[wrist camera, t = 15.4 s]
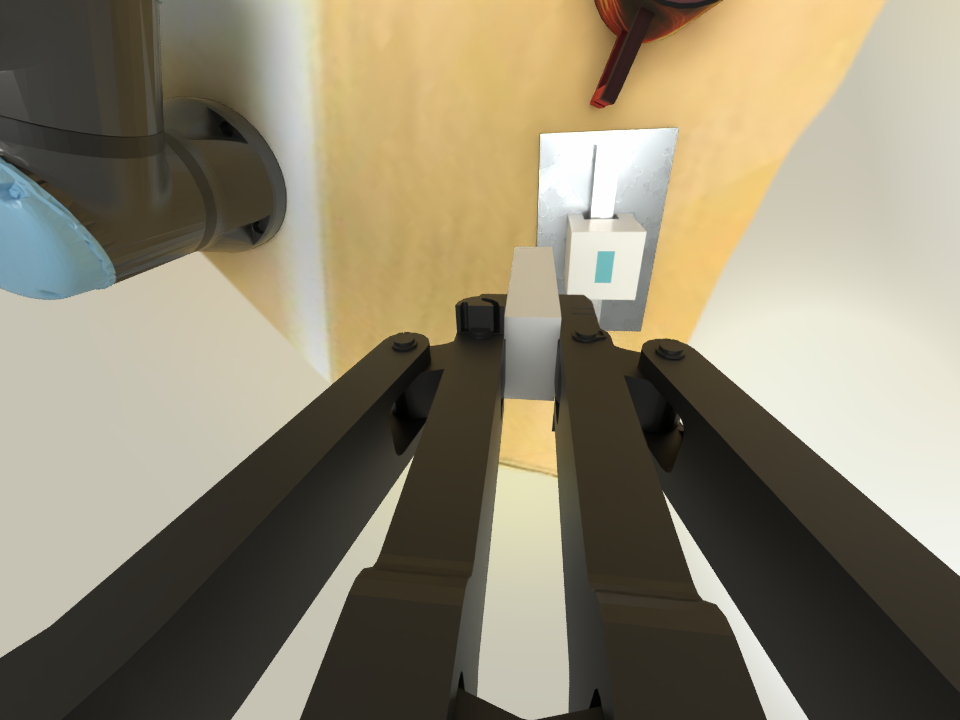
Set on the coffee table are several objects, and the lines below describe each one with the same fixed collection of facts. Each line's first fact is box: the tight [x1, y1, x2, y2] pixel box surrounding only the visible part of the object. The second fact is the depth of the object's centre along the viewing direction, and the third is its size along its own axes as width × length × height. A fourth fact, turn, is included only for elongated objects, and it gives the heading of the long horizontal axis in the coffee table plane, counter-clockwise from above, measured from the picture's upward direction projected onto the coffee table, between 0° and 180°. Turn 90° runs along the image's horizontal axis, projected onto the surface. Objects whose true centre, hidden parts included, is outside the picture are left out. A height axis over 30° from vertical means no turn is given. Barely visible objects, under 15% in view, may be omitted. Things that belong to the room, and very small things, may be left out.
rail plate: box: [537, 128, 679, 331], centre depth 40 cm, size 12×20×3 cm, turn 2°
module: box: [564, 213, 647, 300], centre depth 37 cm, size 6×6×8 cm
